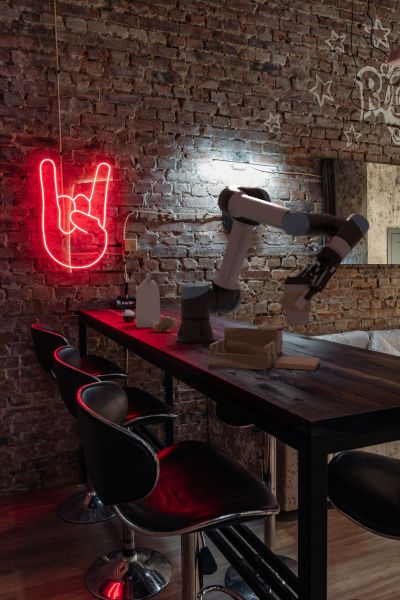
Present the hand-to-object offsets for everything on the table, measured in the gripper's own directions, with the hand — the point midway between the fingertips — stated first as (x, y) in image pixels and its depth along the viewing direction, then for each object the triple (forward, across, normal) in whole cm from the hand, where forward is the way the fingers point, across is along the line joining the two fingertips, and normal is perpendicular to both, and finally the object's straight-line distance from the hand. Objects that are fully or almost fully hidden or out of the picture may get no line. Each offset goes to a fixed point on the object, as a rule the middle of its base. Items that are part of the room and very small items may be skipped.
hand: (288, 305), depth 165 cm
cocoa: (+26, +132, -1) cm, 134 cm away
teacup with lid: (+8, +26, -19) cm, 34 cm away
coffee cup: (+2, 0, -6) cm, 7 cm away
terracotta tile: (+11, 0, -16) cm, 19 cm away
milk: (+22, +114, -5) cm, 116 cm away
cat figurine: (+22, +89, -5) cm, 92 cm away
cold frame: (+21, +10, -6) cm, 24 cm away
